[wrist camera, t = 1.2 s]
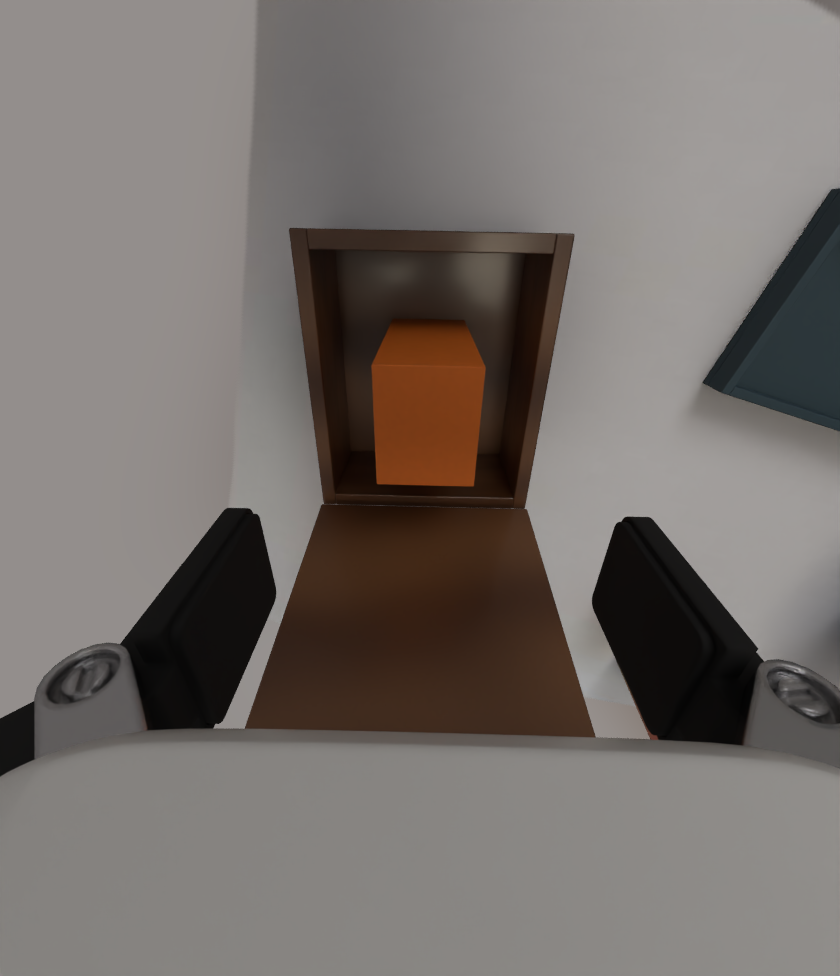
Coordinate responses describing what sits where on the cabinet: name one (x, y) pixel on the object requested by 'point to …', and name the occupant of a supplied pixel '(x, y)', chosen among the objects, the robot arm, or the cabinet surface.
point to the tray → (793, 331)
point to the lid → (422, 629)
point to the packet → (427, 403)
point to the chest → (428, 295)
